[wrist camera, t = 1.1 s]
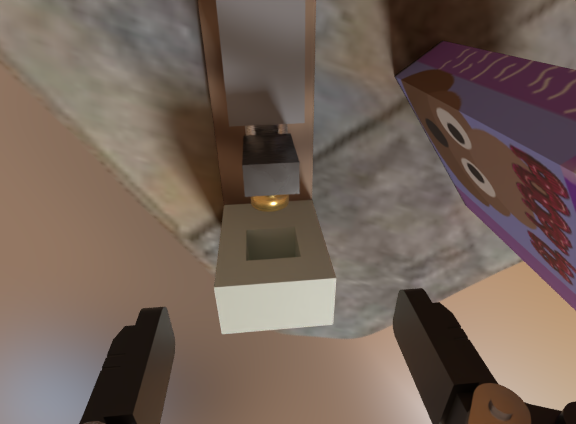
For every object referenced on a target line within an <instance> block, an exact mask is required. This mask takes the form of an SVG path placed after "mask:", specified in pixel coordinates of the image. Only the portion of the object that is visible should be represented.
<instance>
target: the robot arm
mask: <svg viewBox="0 0 576 424" xmlns="http://www.w3.org/2000/svg"><path fill="white" fill-rule="evenodd" d="M393 330H394V334H395V337H396V340H397V342H398V345H399V347H400V349H401V352H402V354H403V356H404V359H405V361H406V363H407V366H408V367H409V370H410V373H411V375H412V377H413V379H414V382H415V384H416V387H417V389H418V391H419V394H420V396H421V398H422V401H423V403H424V405H425V407H426V410H427V412H428V414H429V417H430V419H431V421H432V424H576V402H571V403H569V404H567V405H566V406H565V408H564V409H563V411H559V410H554V409H549V408H545V407H540V406H536V405H531V404H528V403H525V402H523V400H522V399H521V398H520V397H519V396H518V395H517V394H515V393H514V392H513V391H511V390H510V389H508V388H506V387H504V386H501V385H499V384H498V383H497V381H496V380H495V379H494V377H493V375H492V374H491V373H490V371H489V369H488V368H487V366H486V365H485V363H484V361H483V360H482V358H481V357H480V356H479V354H478V352H477V351H476V349H475V347H474V346H473V345H472V343H471V342H470V340H468V337H467V335H466V334H465V332H464V330H463V329H461V326H460V324H459V323H458V321H457V320H456V318H455V317H454V315H453V313H452V312H450V311H449V310H448V309H447V308H446V307H444V306H443V305H442V304H441V303H440V302H438V303H432V302H431V300H430V298H429V297H428V295H427V293H426V292H425V291H424V289H422V288H419V289H406V290H400V291H399V293H398V298H397V303H396V307H395V312H394V317H393ZM174 354H175V337H174V333H173V330H172V326H171V322H170V318H169V314H168V310H167V308H166V307H156V308H143V309H141V311H140V313H139V316H138V319H137V321H136V325H133V326H125V327H124V328H123V329H122V330H121V331H120V332H119V334H118V335H117V336H116V337H115V338H114V339H113V341H112V344H111V346H110V349H109V351H108V354H107V358H106V359H105V362H104V364H103V366H102V371H100V374H99V376H98V379H97V381H96V384H95V386H94V389H93V391H92V394H91V396H90V399H89V401H88V404H87V406H86V409H85V411H84V414H83V416H82V419H81V421H80V423H79V424H160V421H161V416H162V411H163V407H164V401H165V398H166V392H167V387H168V383H169V379H170V373H171V369H172V364H173V359H174Z"/></svg>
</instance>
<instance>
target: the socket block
mask: <svg viewBox="0 0 576 424" xmlns="http://www.w3.org/2000/svg"><path fill="white" fill-rule="evenodd" d="M335 288H336V276H335V273H334V269H333V266H332V263H331V260H330V256H329V253H328V250H327V247H326V243H325V240H324V237H323V234H322V231H321V227H320V224H319V221H318V218H317V214H316V211H315V208H314V205H313V202H312V200H301V201H289V204H288V205H287V206H286V207H285V208H283V209H281V210H278V211H273V212H265V211H259V210H257V209H255V208H254V207H253V206H252V205H251V204H236V205H224V210H223V218H222V226H221V234H220V242H219V251H218V259H217V267H216V275H215V284H214V291H215V297H216V302H217V308H218V314H219V320H220V326H221V332H222V334H229V333H240V332H252V331H264V330H276V329H287V328H299V327H310V326H322V325H333V317H334V303H335Z"/></svg>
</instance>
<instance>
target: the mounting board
mask: <svg viewBox="0 0 576 424" xmlns="http://www.w3.org/2000/svg"><path fill="white" fill-rule="evenodd" d="M198 6H199V14H200V21H201V29H202V37H203V45H204V53H205V60H206V68H207V76H208V84H209V92H210V99H211V107H212V115H213V123H214V131H215V138H216V146H217V154H218V162H219V170H220V177H221V185H222V193H223V201H224V205H236V204H251V197H245V191H244V180H243V169H242V157H243V136H244V135H246V134H245V126H253V125H275V124H287V128H288V133H291V136H292V139H293V143H294V146H295V149H296V152H297V156H298V159H299V190H300V194H289V201H301V200H312V173H313V123H314V73H315V22H316V0H198Z"/></svg>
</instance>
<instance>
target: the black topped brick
mask: <svg viewBox="0 0 576 424" xmlns="http://www.w3.org/2000/svg"><path fill="white" fill-rule="evenodd" d="M245 134H246V135H244V136H243V157H242V169H243V180H244V191H245V197H251V205H252V206H253V207H254V208H255V209H257V210H259V211H265V212H273V211H278V210H281V209H283V208H285V207H286V206H287V205H288V204H289V194H300V190H299V159H298V156H297V152H296V149H295V146H294V143H293V139H292V136H291V133H288V128H287V124H275V125H253V126H245Z"/></svg>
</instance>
